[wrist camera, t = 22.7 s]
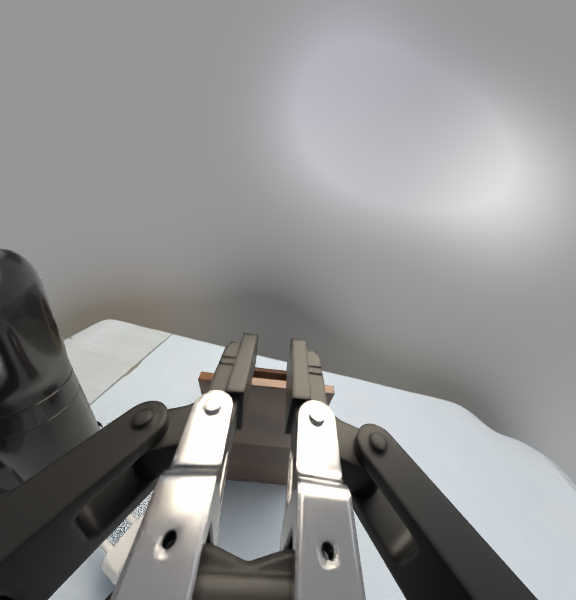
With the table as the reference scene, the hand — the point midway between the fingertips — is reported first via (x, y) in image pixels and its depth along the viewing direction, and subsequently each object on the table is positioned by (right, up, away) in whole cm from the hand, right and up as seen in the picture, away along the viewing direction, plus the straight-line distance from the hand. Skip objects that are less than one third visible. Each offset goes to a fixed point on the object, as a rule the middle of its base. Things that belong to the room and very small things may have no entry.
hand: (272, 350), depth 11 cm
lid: (-2, -11, +13) cm, 17 cm away
